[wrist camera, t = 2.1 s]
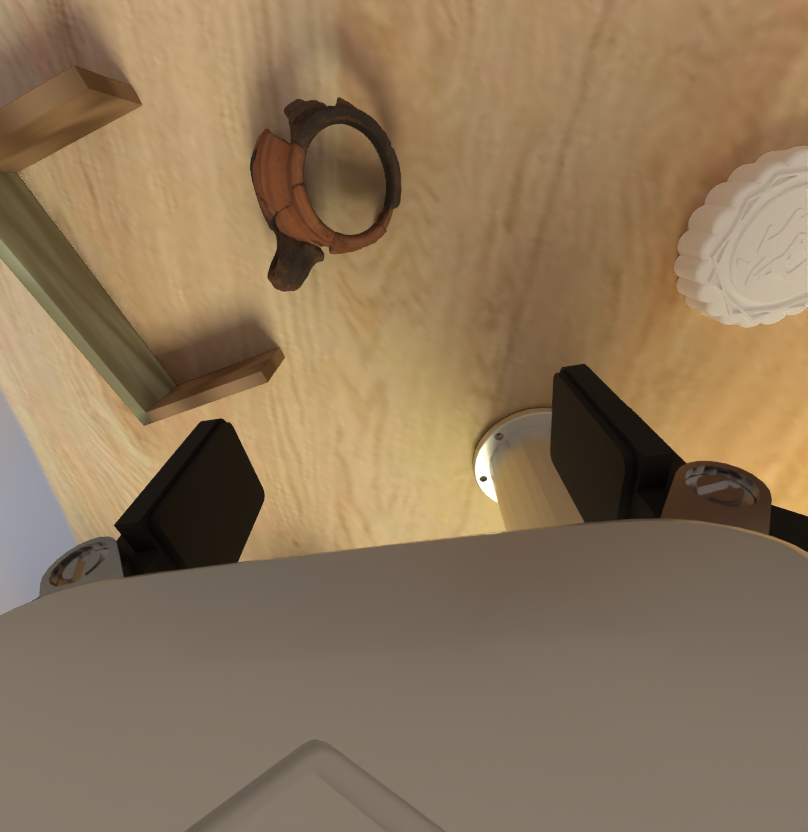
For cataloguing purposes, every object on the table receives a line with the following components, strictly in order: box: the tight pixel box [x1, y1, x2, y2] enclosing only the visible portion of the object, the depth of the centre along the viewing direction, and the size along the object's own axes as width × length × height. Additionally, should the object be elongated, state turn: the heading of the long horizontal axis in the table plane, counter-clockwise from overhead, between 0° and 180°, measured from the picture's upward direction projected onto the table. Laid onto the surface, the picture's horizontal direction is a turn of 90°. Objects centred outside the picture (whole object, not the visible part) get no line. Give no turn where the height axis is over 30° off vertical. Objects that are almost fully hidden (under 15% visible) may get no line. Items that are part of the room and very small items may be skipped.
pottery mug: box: [250, 97, 401, 292], centre depth 26 cm, size 12×10×8 cm
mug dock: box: [0, 66, 285, 426], centre depth 28 cm, size 12×20×5 cm, turn 20°
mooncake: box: [674, 145, 808, 328], centre depth 28 cm, size 12×12×4 cm
